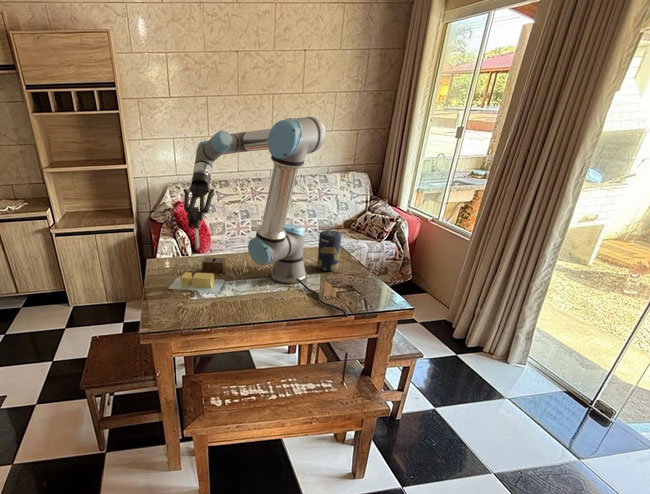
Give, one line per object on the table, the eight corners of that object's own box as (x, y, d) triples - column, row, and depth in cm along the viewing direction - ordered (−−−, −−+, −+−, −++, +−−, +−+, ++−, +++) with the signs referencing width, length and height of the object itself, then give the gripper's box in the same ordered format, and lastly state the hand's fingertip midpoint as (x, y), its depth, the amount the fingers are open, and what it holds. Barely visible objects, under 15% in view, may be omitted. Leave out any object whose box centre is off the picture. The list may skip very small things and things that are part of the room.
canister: (342, 268, 187) (346, 229, 178) (331, 274, 181) (335, 234, 172) (323, 263, 193) (327, 226, 184) (312, 269, 187) (315, 230, 178)
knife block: (225, 270, 190) (225, 258, 187) (223, 275, 185) (222, 262, 182) (206, 269, 192) (205, 257, 189) (203, 274, 187) (202, 261, 184)
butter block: (214, 282, 176) (213, 273, 174) (211, 287, 170) (210, 278, 168) (196, 281, 177) (195, 272, 175) (192, 286, 172) (192, 278, 170)
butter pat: (192, 281, 177) (191, 272, 175) (188, 286, 172) (187, 277, 170) (185, 280, 178) (184, 272, 176) (181, 286, 173) (180, 277, 171)
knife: (201, 246, 174) (198, 206, 165) (199, 249, 171) (196, 208, 163) (196, 246, 174) (193, 206, 166) (194, 249, 172) (190, 208, 163)
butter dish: (225, 282, 178) (224, 279, 177) (219, 293, 168) (218, 291, 167) (177, 279, 182) (176, 277, 182) (168, 290, 172) (168, 288, 171)
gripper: (221, 182, 172) (213, 232, 166) (186, 182, 175) (177, 231, 169) (217, 171, 165) (209, 222, 159) (181, 171, 168) (172, 221, 162)
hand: (193, 227), depth 164 cm, fingers closed on knife, 2 cm apart
